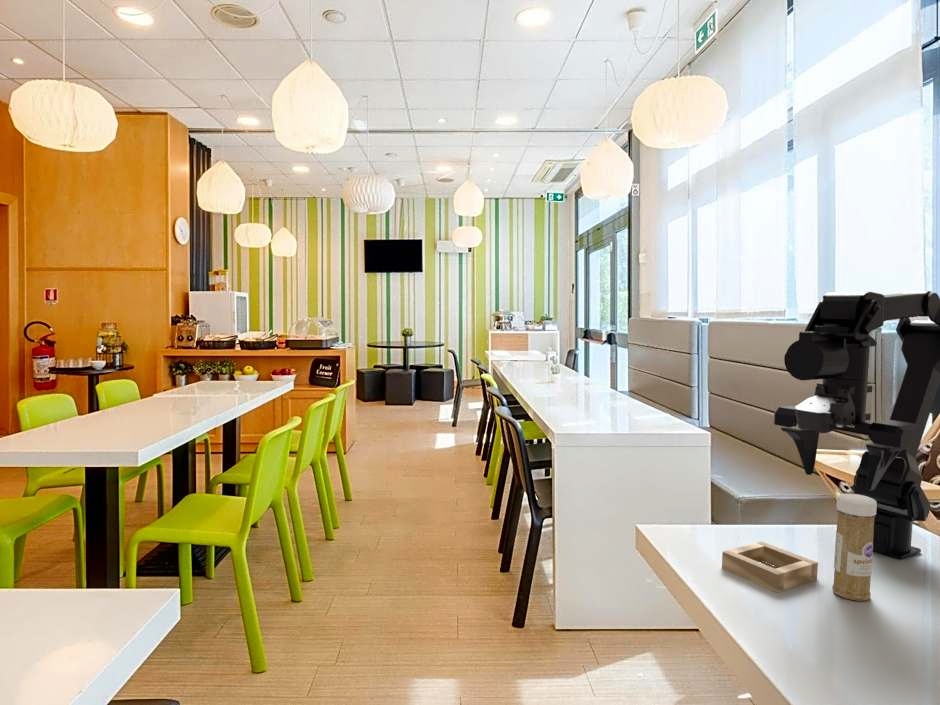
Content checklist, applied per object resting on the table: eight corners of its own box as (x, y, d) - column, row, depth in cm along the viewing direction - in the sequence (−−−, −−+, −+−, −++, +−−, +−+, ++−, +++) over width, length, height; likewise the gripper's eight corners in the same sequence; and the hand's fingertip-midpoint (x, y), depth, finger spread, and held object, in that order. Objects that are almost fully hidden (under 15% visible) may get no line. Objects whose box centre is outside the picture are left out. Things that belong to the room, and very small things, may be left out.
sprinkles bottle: (863, 605, 82) (869, 504, 81) (826, 593, 86) (831, 496, 85) (875, 595, 85) (882, 498, 84) (839, 583, 89) (844, 490, 88)
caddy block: (761, 557, 98) (762, 541, 98) (817, 579, 90) (818, 562, 90) (721, 568, 94) (722, 551, 93) (776, 592, 86) (777, 574, 86)
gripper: (753, 373, 97) (748, 473, 98) (881, 388, 80) (873, 507, 82) (798, 370, 102) (793, 465, 103) (926, 384, 86) (919, 496, 87)
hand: (838, 482), depth 94 cm, fingers open, 9 cm apart
